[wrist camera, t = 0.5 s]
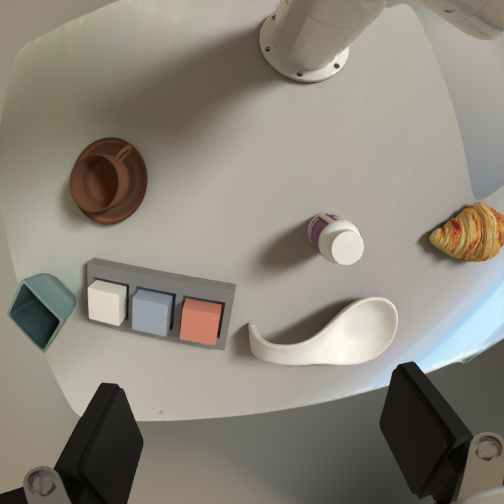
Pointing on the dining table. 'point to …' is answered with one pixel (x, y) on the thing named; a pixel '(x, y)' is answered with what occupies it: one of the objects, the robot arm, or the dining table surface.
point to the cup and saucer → (109, 180)
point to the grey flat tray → (166, 285)
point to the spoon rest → (337, 337)
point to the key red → (200, 321)
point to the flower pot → (41, 308)
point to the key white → (107, 302)
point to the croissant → (471, 234)
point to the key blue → (151, 312)
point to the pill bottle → (335, 239)
